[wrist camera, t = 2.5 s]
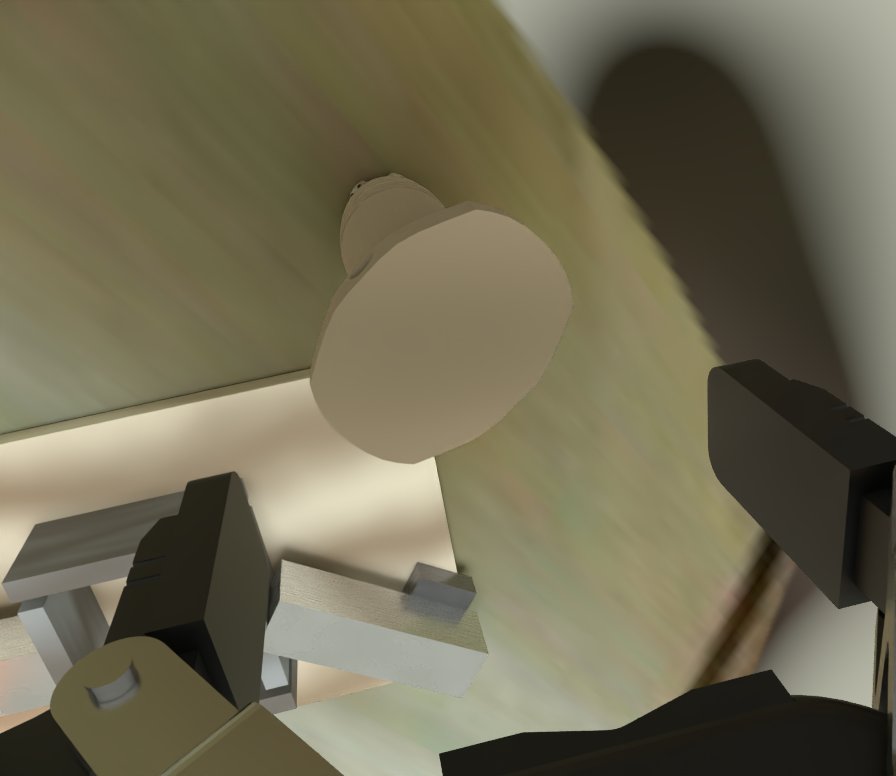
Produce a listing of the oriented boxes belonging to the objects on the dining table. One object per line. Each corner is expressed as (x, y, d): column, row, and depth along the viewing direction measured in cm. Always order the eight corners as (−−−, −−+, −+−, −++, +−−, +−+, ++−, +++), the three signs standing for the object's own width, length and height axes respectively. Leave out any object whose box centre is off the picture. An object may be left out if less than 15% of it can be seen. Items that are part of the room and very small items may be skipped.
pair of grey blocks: (-128, 612, 33) (-181, 681, 30) (452, 478, 35) (469, 528, 32) (-29, 764, 38) (-65, 841, 34) (483, 638, 40) (500, 697, 36)
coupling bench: (-206, 478, 31) (-292, 552, 27) (411, 346, 33) (427, 394, 29) (-19, 770, 39) (-62, 864, 35) (471, 648, 41) (491, 723, 37)
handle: (285, 229, 30) (267, 380, 17) (395, 107, 29) (468, 164, 16) (375, 306, 32) (421, 496, 19) (480, 194, 31) (611, 311, 18)
